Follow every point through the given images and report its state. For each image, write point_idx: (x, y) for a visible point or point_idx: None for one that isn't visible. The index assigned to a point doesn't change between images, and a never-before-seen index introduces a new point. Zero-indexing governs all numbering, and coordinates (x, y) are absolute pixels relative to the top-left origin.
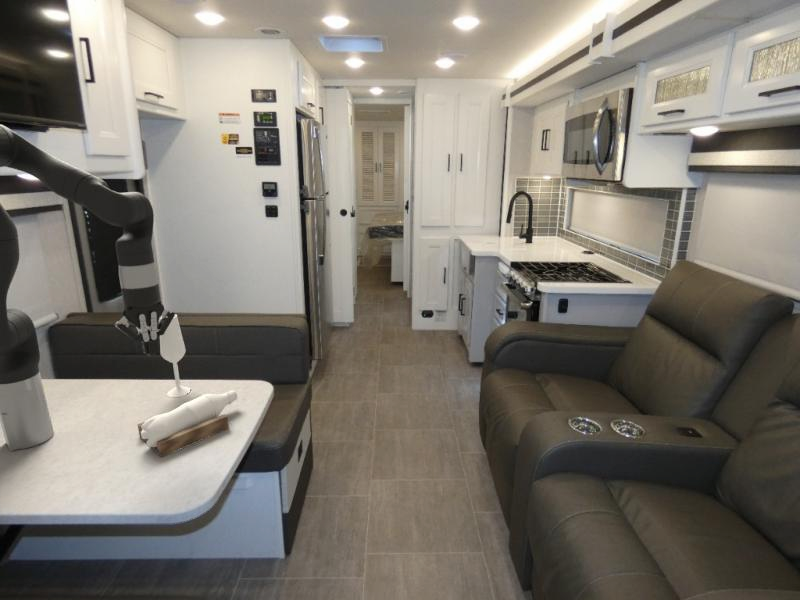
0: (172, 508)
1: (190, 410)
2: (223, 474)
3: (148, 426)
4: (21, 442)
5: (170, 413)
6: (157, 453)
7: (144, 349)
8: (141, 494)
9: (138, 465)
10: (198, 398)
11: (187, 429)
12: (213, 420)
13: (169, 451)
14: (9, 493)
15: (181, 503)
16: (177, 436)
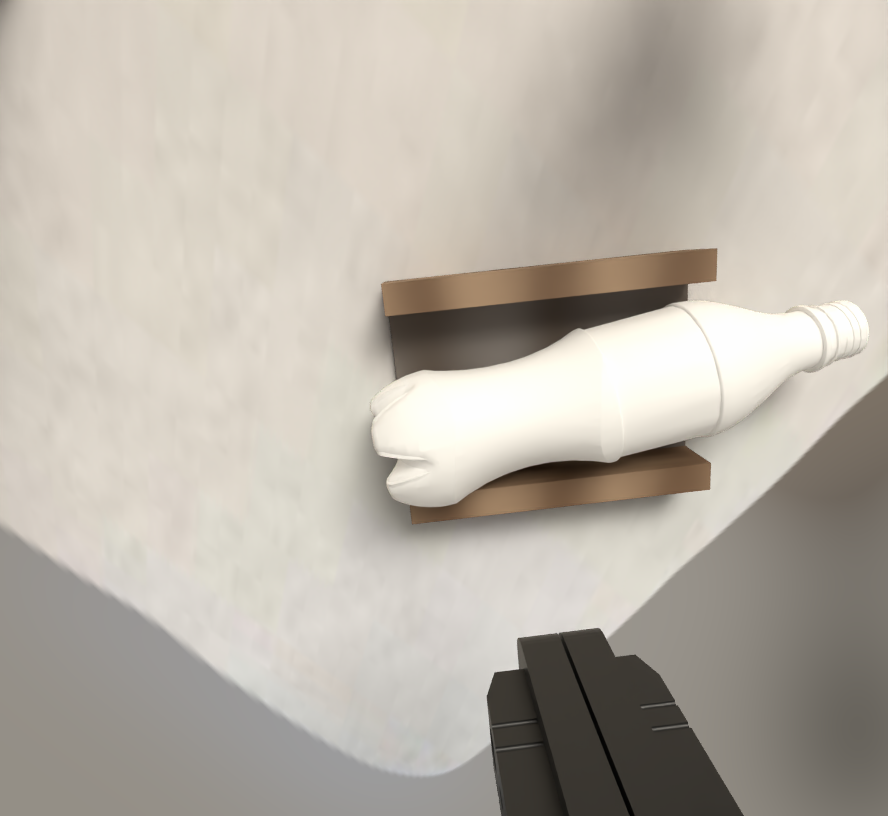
0: (365, 756)
1: (599, 455)
2: None
3: (393, 485)
4: None
5: (511, 442)
6: None
7: (500, 799)
8: (309, 653)
9: (334, 495)
10: (681, 389)
11: (538, 486)
12: (650, 486)
13: None
14: None
15: (390, 751)
16: (487, 514)
